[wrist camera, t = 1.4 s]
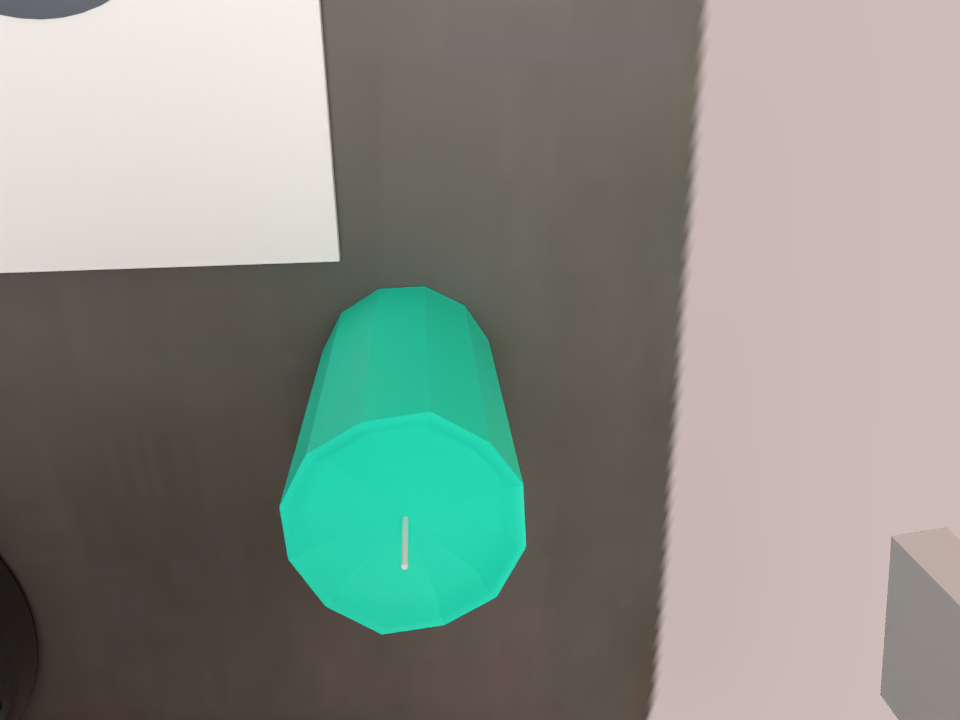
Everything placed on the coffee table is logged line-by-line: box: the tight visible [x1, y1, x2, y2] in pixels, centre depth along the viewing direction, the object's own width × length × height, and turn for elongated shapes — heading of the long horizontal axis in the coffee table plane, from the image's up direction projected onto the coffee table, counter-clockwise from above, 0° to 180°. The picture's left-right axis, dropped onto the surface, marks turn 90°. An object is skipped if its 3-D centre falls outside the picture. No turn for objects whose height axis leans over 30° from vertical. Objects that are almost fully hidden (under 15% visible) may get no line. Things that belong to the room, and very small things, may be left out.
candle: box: [279, 286, 526, 634], centre depth 25 cm, size 6×6×12 cm
